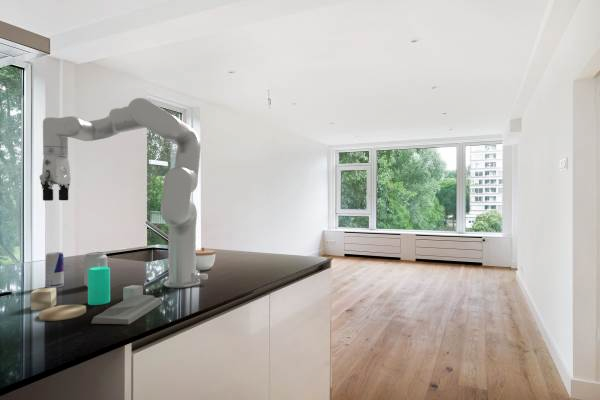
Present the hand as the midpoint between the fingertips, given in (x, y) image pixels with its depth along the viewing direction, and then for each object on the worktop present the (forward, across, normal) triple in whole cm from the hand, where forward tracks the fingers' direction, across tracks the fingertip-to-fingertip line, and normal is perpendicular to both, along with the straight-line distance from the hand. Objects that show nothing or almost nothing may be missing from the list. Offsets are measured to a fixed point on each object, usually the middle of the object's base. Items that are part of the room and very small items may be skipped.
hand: (56, 200), depth 139 cm
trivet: (+31, -35, -21) cm, 51 cm away
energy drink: (+31, -1, 0) cm, 31 cm away
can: (+31, 0, -14) cm, 34 cm away
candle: (+31, -23, -25) cm, 46 cm away
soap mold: (+32, -34, -38) cm, 61 cm away
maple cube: (+31, -27, -11) cm, 43 cm away
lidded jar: (+31, +30, -46) cm, 64 cm away
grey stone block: (+31, -20, -34) cm, 51 cm away
